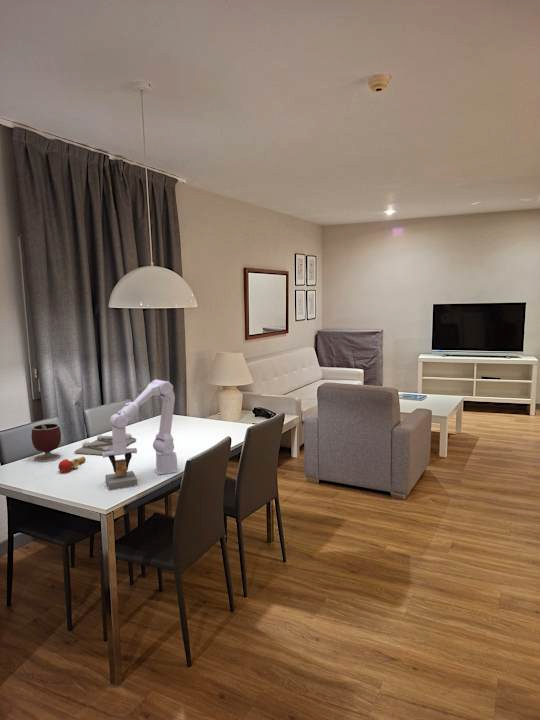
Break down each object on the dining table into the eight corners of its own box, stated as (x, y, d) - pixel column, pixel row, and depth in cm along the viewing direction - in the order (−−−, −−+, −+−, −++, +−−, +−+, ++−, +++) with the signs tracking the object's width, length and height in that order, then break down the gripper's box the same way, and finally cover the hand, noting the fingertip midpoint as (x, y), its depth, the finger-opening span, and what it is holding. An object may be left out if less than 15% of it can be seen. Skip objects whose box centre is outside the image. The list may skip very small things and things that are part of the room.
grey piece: (104, 439, 297) (103, 427, 296) (137, 441, 292) (136, 429, 291) (73, 454, 268) (72, 441, 267) (109, 457, 263) (108, 444, 262)
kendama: (74, 464, 255) (52, 471, 238) (77, 452, 255) (55, 458, 237) (88, 468, 254) (67, 475, 236) (90, 455, 254) (69, 462, 236)
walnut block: (125, 471, 227) (124, 458, 226) (126, 474, 223) (126, 461, 222) (114, 473, 225) (114, 460, 224) (116, 476, 221) (115, 463, 220)
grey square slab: (132, 477, 232) (132, 470, 231) (137, 485, 221) (137, 479, 221) (105, 481, 227) (105, 474, 226) (109, 490, 216) (108, 483, 216)
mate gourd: (36, 455, 265) (33, 418, 263) (64, 453, 269) (61, 417, 266) (29, 465, 250) (27, 426, 248) (59, 462, 254) (57, 424, 251)
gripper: (134, 436, 228) (135, 465, 230) (101, 440, 222) (102, 470, 224) (137, 440, 222) (138, 470, 223) (103, 444, 216) (104, 475, 217)
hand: (120, 470), depth 223 cm, fingers closed on walnut block, 4 cm apart
